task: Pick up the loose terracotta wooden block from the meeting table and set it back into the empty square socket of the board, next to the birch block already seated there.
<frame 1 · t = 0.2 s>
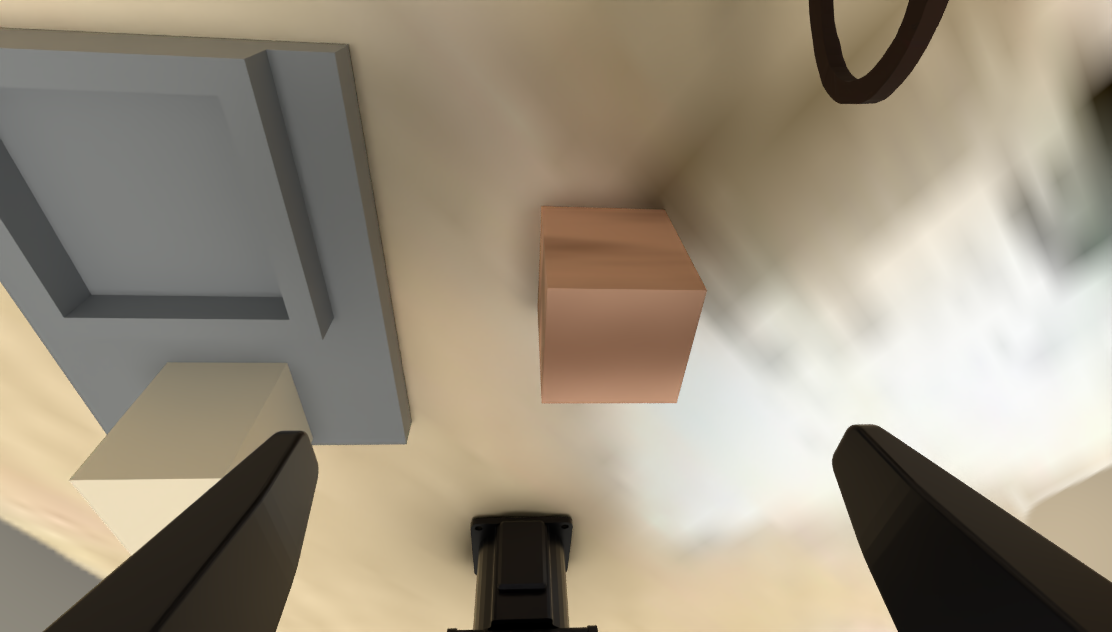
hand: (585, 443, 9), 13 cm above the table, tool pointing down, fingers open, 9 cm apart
socket board: (217, 276, 22), on the table
terracotta block: (597, 261, 22), on the table
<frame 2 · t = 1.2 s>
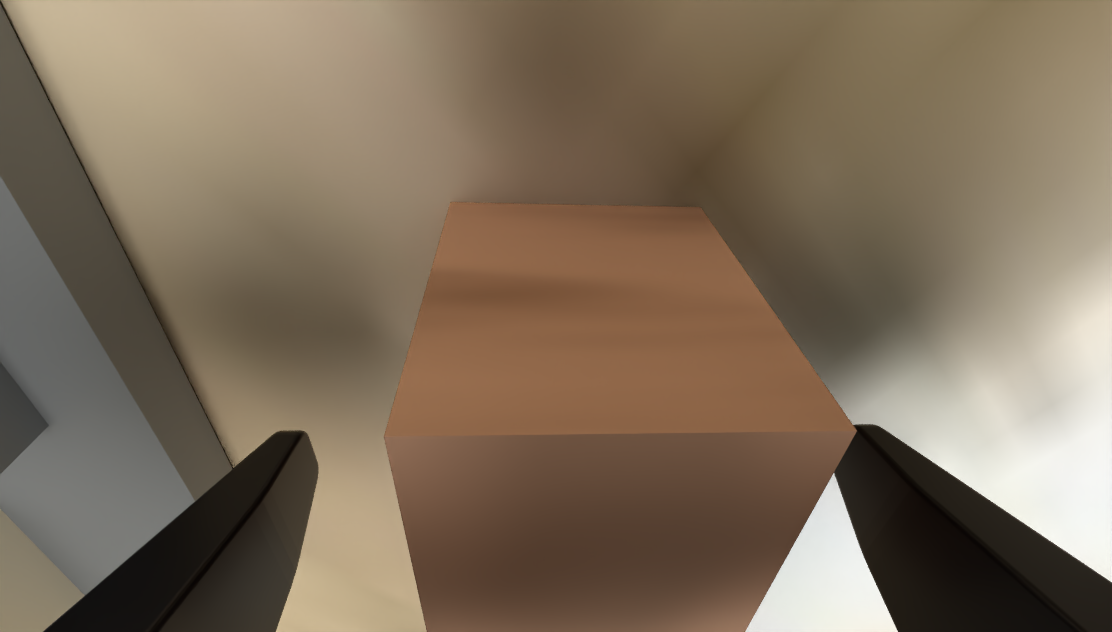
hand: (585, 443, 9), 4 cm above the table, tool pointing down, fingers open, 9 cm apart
terracotta block: (569, 307, 12), on the table
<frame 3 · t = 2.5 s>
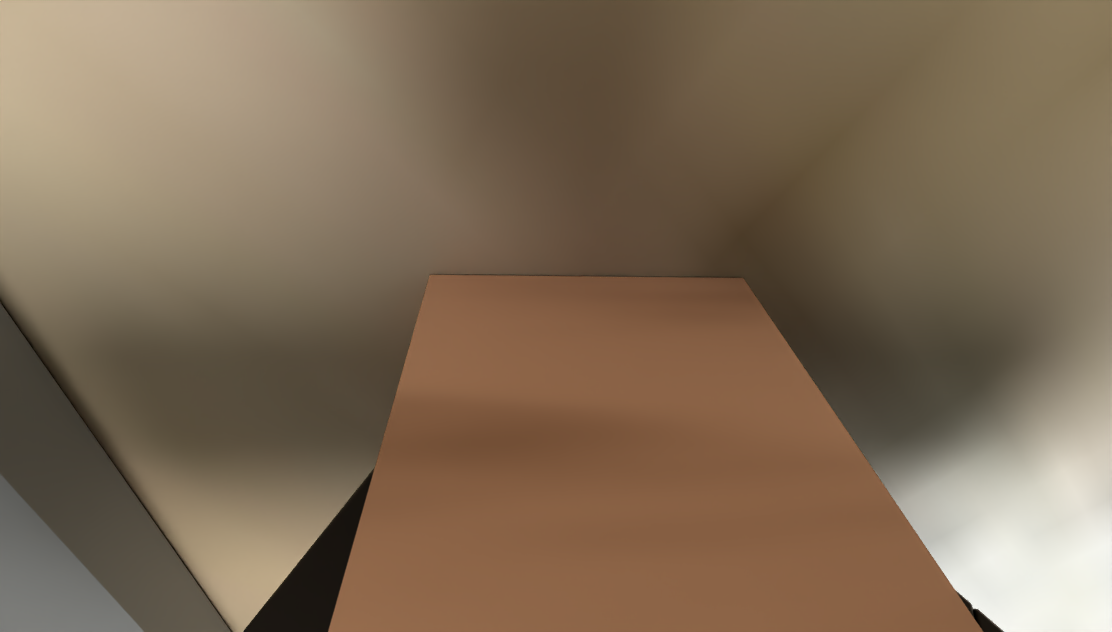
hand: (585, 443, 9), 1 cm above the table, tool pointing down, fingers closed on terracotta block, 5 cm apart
terracotta block: (578, 391, 10), on the table, touching gripper
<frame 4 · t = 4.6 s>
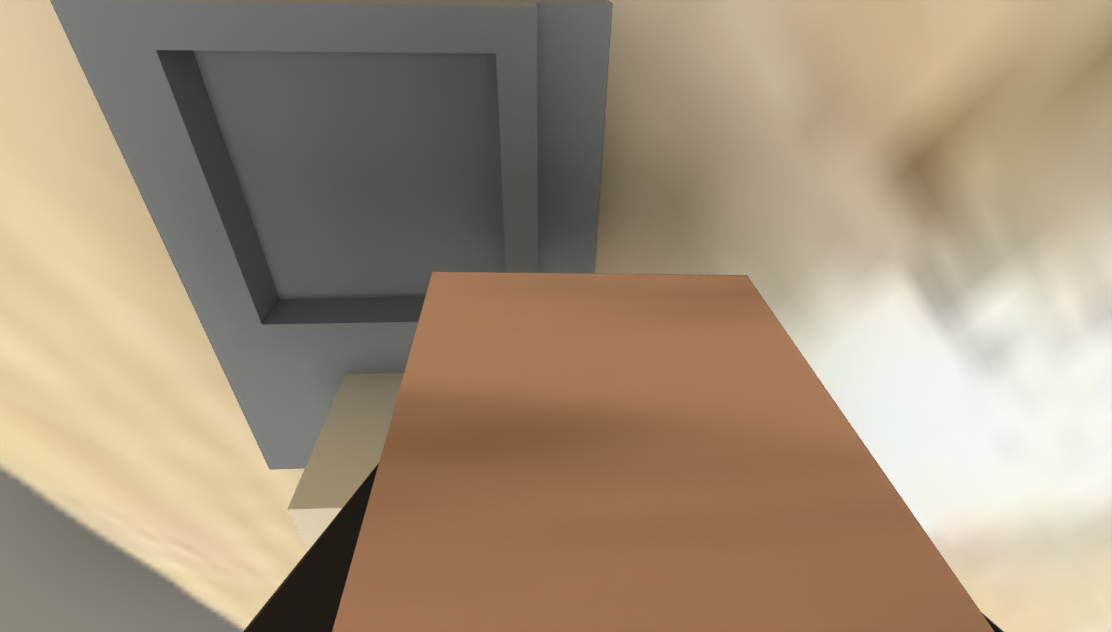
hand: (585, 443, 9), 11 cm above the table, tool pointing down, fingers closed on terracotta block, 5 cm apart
socket board: (403, 276, 19), on the table
terracotta block: (581, 389, 10), point 10 cm above the table, touching gripper
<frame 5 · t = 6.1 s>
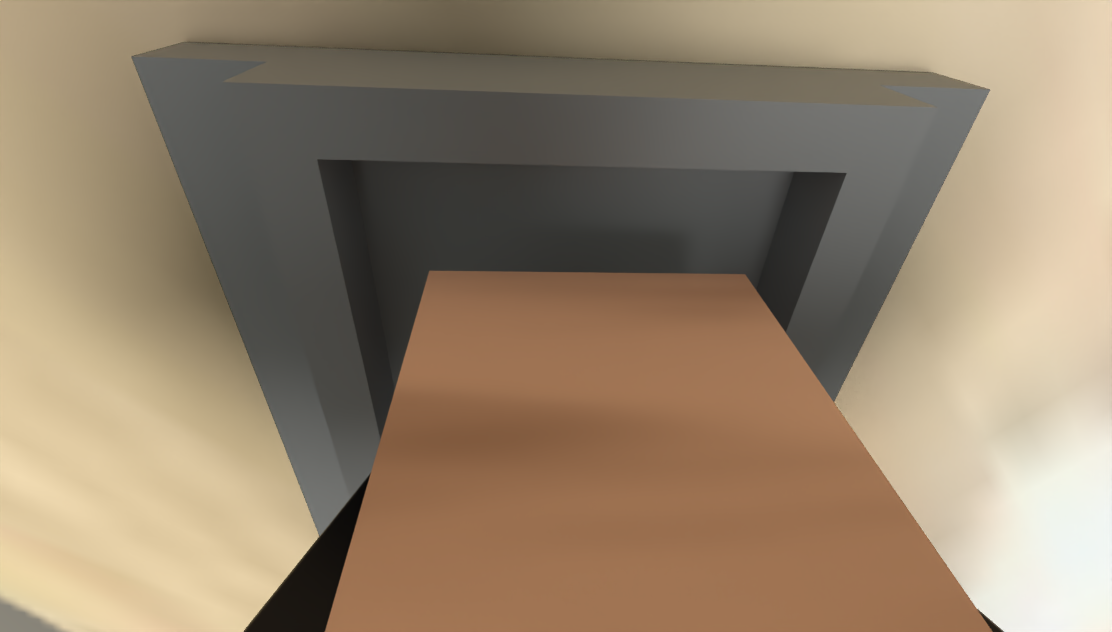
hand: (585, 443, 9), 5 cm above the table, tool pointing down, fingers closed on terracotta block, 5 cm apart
socket board: (556, 403, 15), on the table
terracotta block: (579, 388, 10), point 4 cm above the table, touching gripper
when the fingers open (4 cm above the table, at t = 7.1 s): terracotta block drops 1 cm, resting on socket board.
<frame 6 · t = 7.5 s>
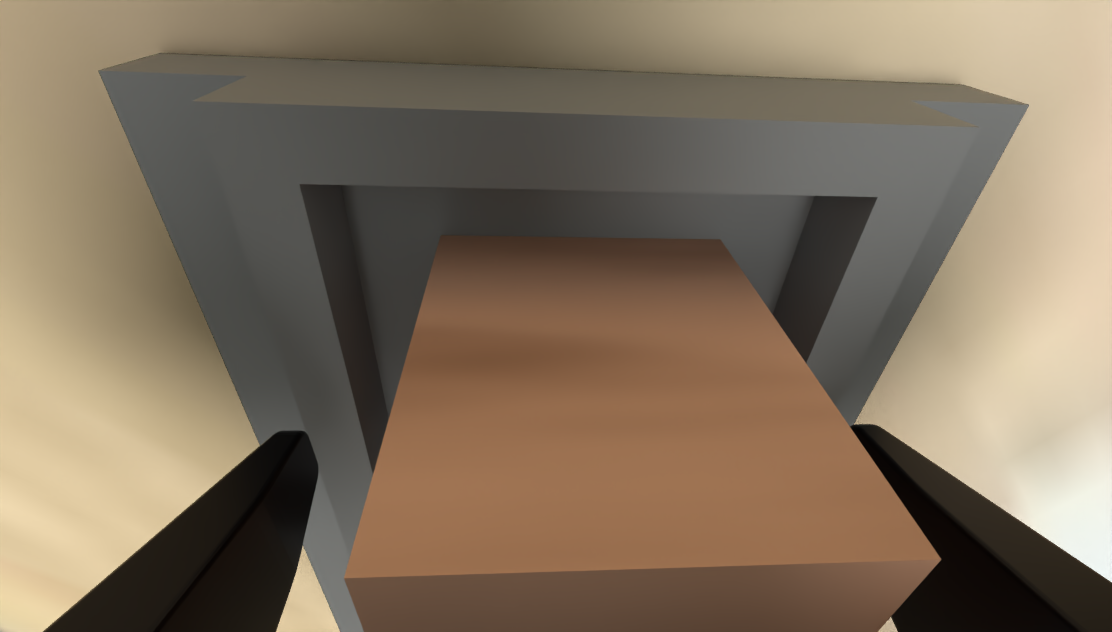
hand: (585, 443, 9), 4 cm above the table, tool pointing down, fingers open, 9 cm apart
socket board: (558, 427, 14), on the table
terracotta block: (574, 347, 11), point 1 cm above the table, touching socket board
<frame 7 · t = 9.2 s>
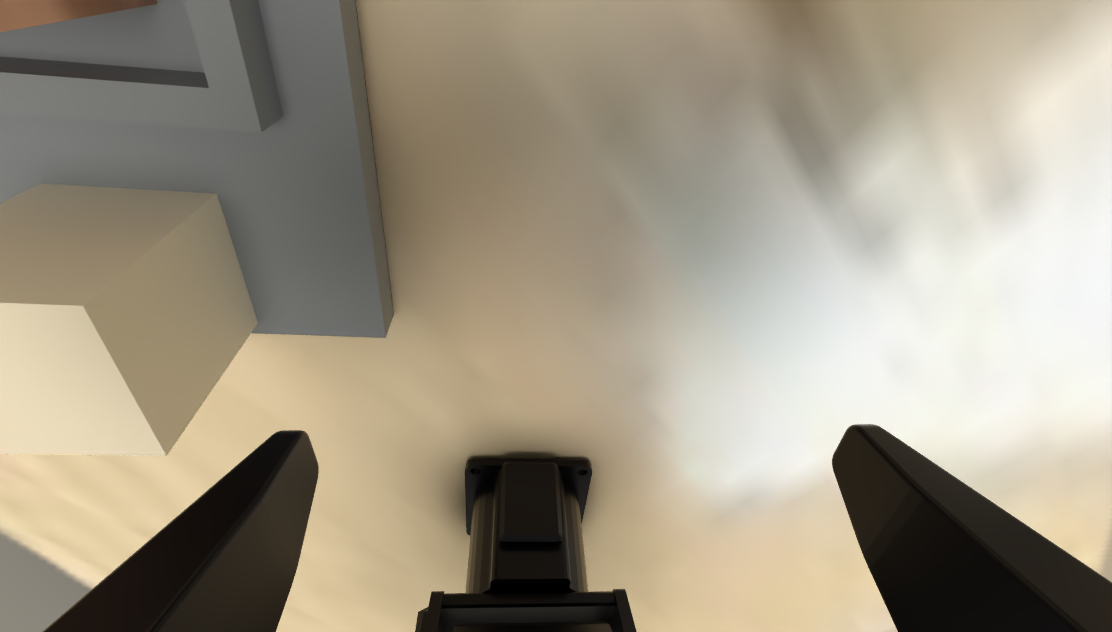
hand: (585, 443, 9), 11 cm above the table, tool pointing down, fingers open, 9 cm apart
socket board: (113, 52, 15), on the table
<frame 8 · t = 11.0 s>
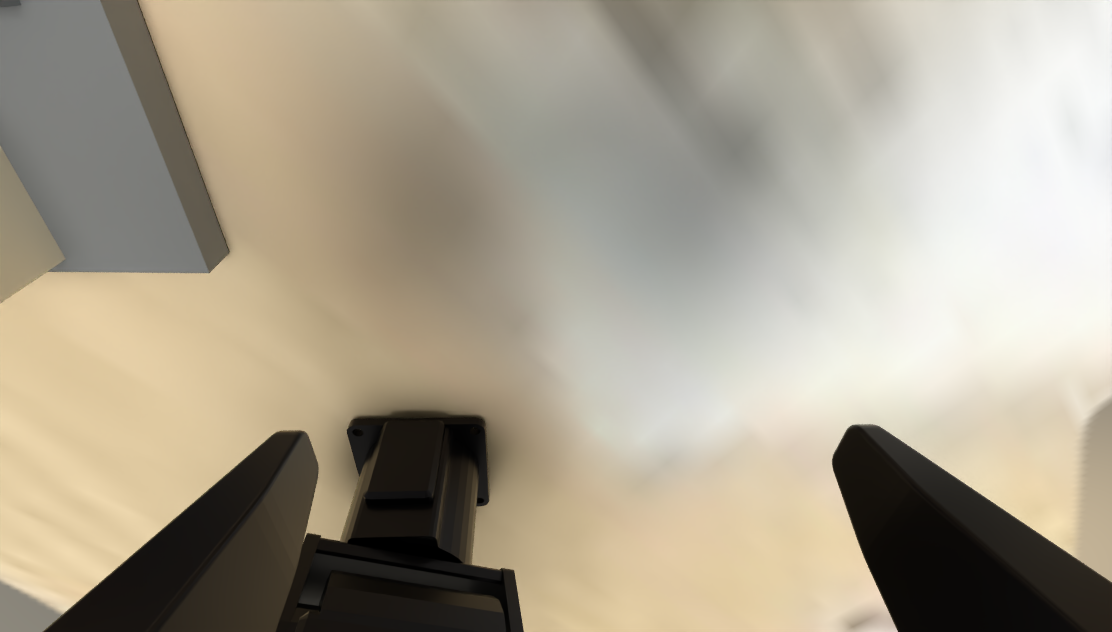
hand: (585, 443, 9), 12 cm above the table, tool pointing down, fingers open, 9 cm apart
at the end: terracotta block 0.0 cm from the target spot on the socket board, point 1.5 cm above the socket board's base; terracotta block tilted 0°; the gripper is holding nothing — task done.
